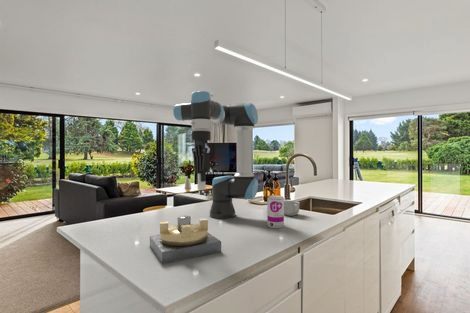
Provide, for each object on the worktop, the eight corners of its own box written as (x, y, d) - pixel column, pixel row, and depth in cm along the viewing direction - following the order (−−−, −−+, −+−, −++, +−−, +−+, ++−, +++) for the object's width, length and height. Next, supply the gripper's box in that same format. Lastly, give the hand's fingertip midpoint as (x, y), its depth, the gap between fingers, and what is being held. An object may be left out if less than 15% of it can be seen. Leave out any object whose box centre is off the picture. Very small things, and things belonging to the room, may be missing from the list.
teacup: (279, 213, 165) (279, 200, 165) (296, 212, 166) (296, 199, 165) (285, 218, 151) (285, 204, 151) (304, 218, 152) (304, 203, 152)
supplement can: (283, 228, 131) (283, 198, 130) (266, 228, 132) (266, 197, 132) (284, 224, 138) (284, 195, 138) (268, 223, 140) (267, 194, 140)
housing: (149, 245, 108) (149, 235, 108) (201, 237, 118) (201, 227, 118) (161, 263, 90) (161, 251, 90) (221, 251, 101) (221, 240, 101)
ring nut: (181, 228, 116) (181, 210, 116) (216, 234, 108) (216, 214, 108) (149, 240, 101) (149, 219, 101) (187, 249, 92) (187, 225, 92)
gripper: (185, 131, 111) (186, 188, 112) (199, 129, 100) (200, 192, 101) (202, 132, 115) (202, 187, 116) (217, 129, 105) (217, 190, 105)
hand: (201, 189), depth 108 cm, fingers closed
